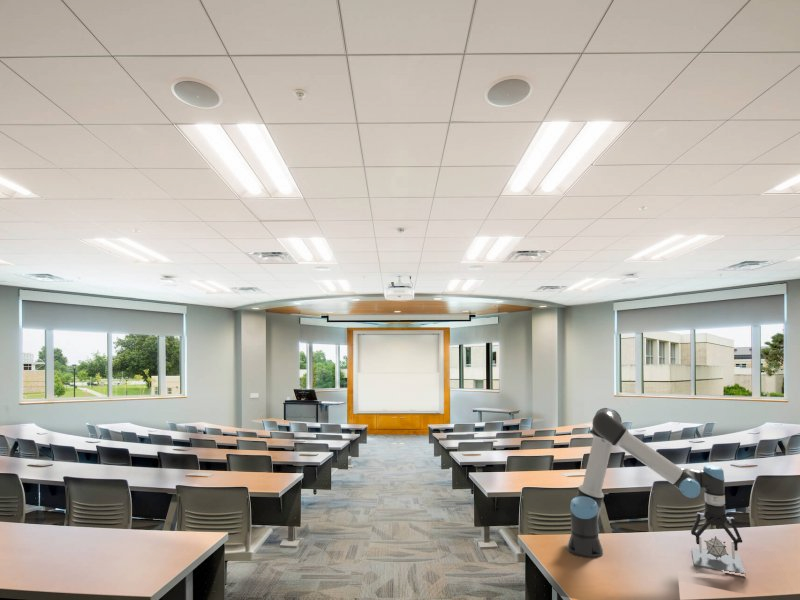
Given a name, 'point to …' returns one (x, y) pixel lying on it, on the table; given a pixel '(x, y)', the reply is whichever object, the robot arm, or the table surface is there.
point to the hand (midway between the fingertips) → (716, 554)
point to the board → (717, 561)
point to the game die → (716, 547)
